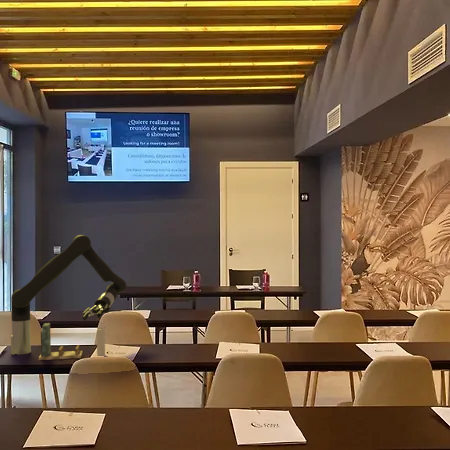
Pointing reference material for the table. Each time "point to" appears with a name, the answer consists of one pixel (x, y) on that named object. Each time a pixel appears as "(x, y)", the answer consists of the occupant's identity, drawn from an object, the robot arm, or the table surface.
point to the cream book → (100, 341)
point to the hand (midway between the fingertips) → (90, 317)
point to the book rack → (46, 347)
